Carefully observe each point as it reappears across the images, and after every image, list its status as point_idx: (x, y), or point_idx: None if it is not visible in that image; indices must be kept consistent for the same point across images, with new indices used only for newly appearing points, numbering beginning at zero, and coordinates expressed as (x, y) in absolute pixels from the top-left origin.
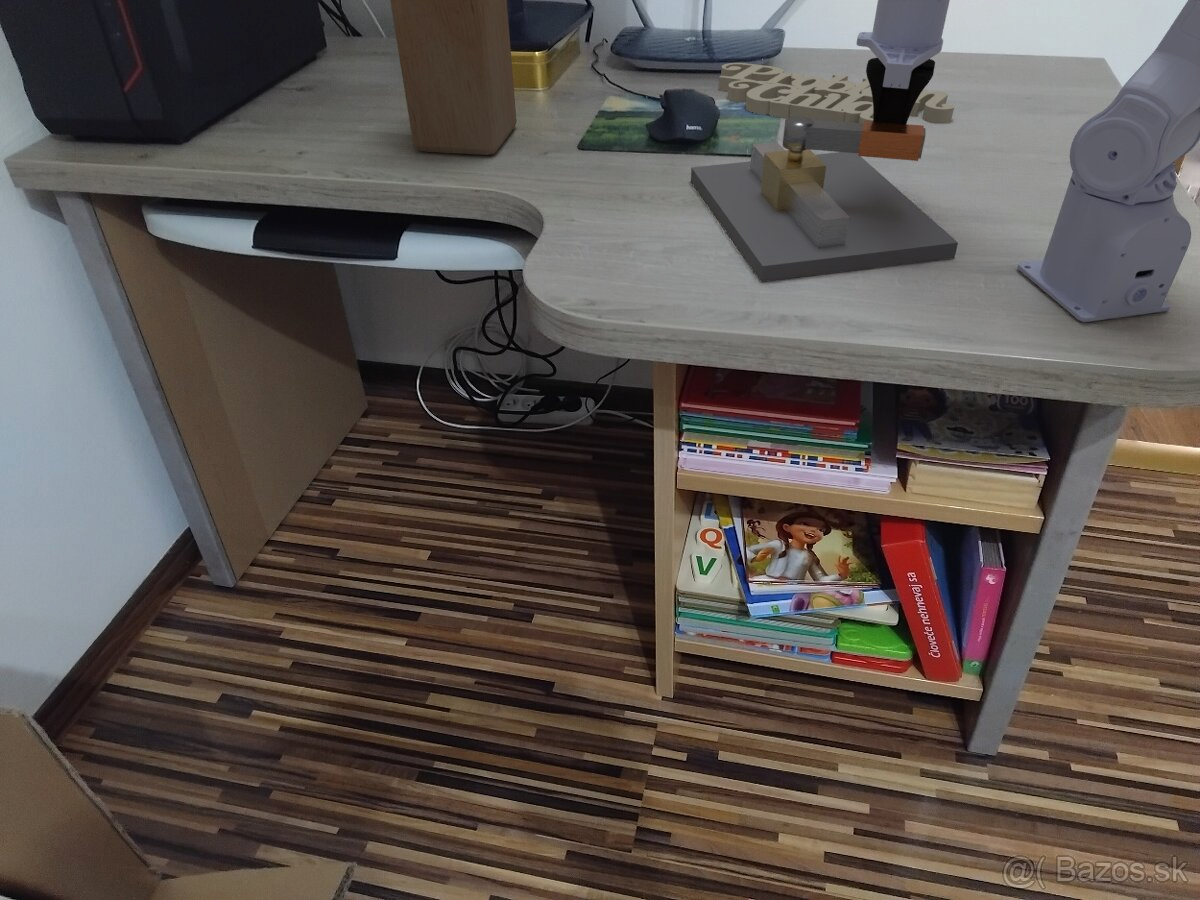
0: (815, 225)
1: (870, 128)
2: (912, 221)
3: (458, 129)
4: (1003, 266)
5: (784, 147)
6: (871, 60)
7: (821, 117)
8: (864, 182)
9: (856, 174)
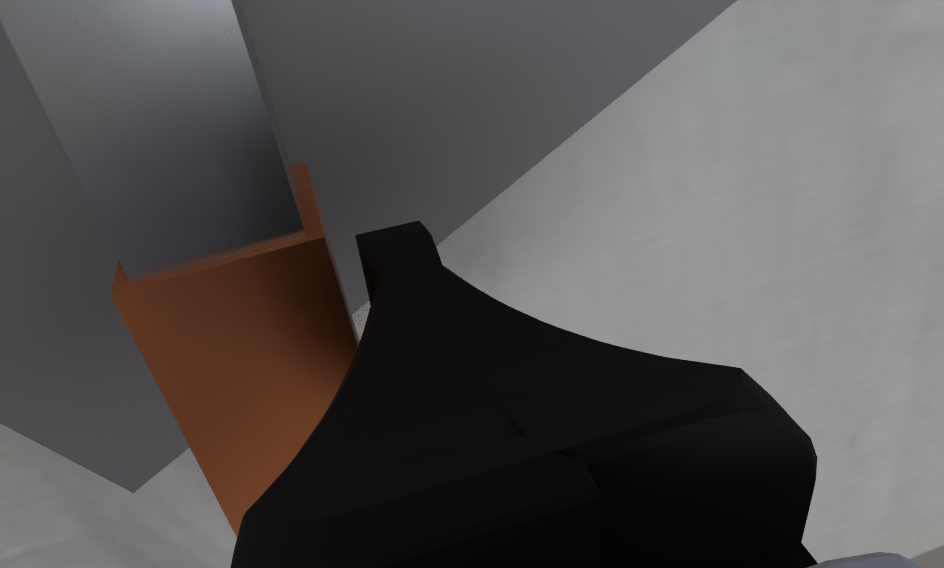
0: None
1: (193, 326)
2: None
3: None
4: (175, 548)
5: None
6: (592, 521)
7: None
8: (504, 65)
9: (578, 5)
